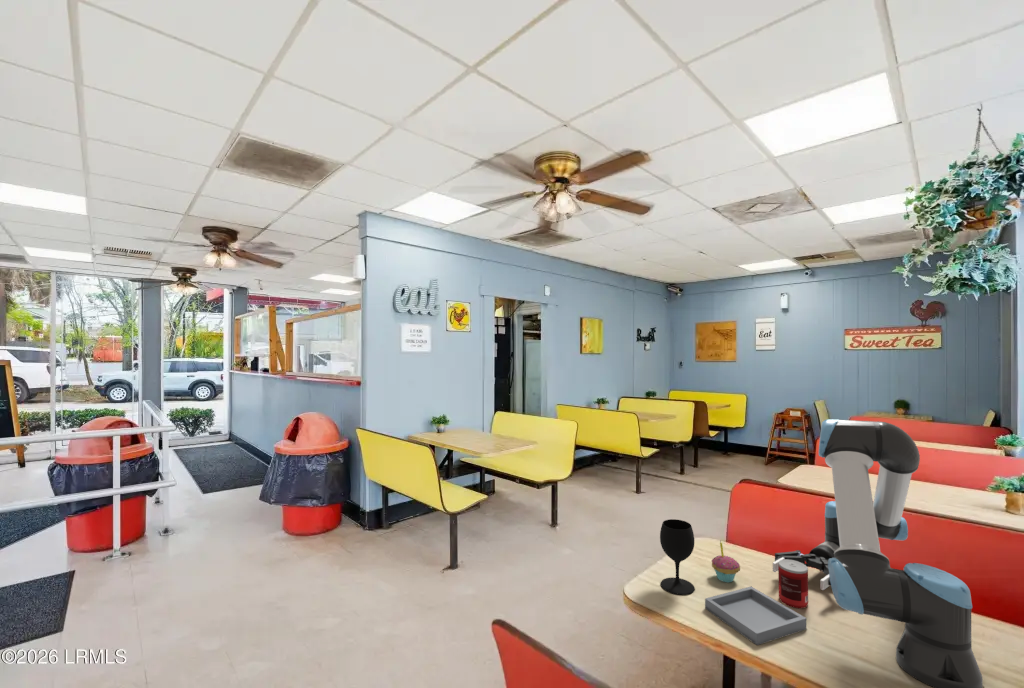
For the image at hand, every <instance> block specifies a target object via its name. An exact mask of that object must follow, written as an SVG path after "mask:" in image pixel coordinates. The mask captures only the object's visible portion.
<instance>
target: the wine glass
mask: <svg viewBox="0 0 1024 688" xmlns="http://www.w3.org/2000/svg"><path fill="white" fill-rule="evenodd" d="M659 532H660V533H659V542H660V546H661V548H662V550H663V552H664V553H665V555H666V556H667V557H668V558H670V560H672V561H673V562H674V567H675V577H666V578H664V579H662V580H661V581H660V587H661V588H662V589H663V591H665V592H667V593H669V594H673V595H675V596H676V595H677V596H688V595H692V594H693V593H694V592H695V591H696V590H695V589H696V588H695V585H694V584H693V583H692V582H690V581H689V580H686V579H684V578H680V563H681V562H683V561H685V560H686V559H688V558H689V557H690V556H691V555H692V553H693V551H694V547H695V535H694V530H693V527H692V524H691V523H689V522H688V521H685V520H681V519H673V518H672V519H665V520H663V521H662V524H661V527H660V531H659Z"/></svg>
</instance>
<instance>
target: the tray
mask: <svg viewBox="0 0 1024 688" xmlns="http://www.w3.org/2000/svg"><path fill="white" fill-rule="evenodd" d="M704 608H705V610H706V611H708V612H709V613H711V615H713V616H715V618H717V619H720V621H722V622H723V623H724V624H726V625H728V626H729V627H730V628H732V629H733V630H735V631H736V632H737V633H739V634H741V636H743V637H744V638H746V639H747V640H749V641H750V642H752V643H753V644H755V645H756V646H758V645H763V644H765V643H768V642H772V641H774V640H777V639H781V638H784V637H786V636H790V635H793V634H796V633H800V632H803V631H806V630H807V617H806V616H804V615H802V614H800V613H798V612H796V611H795V610H793V609H791V607H789V606H787V605H785V604H784V603H781V602H779V601H777V600H776V599H774V598H772V597H770V596H769V595H767V594H765V593H764V592H762V591H760V590H758V589H757V588H755V587H753V586H747V587H744V588H740V589H735V590H733V591H732V590H731V591H727V592H725V593H724V592H723V593H721V594H717V595H713V596H709V597H705V598H704Z"/></svg>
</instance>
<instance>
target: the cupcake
mask: <svg viewBox="0 0 1024 688" xmlns="http://www.w3.org/2000/svg"><path fill="white" fill-rule="evenodd" d="M719 541H720V542H719V545H720V555H717V556H715V557H713V558H712V560H711V567H712V569H713V570H714V571H715V574H716V577H717V579H718V580H719V581H721V582H724V583H732V582H733V581H734V580H735V577H736V574H737V573H739V572H740V570H741V565H740V563H739V562H738V561H737V560H735V558H734V557H731V556H728V555H724V554H725V553H724V547H723V542H722V541H721V540H719Z"/></svg>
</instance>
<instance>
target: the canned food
mask: <svg viewBox="0 0 1024 688" xmlns="http://www.w3.org/2000/svg"><path fill="white" fill-rule="evenodd" d="M808 568H809V567H807V566H806V565H804V564H803V563H801V562H798V561H795V560H789V559H784V560H780V561H779V564H778V571H777V572H778V573H777V574H778V575H777V577H778V579H777V580H778V598H779V601H780V603H781V602H782V604H783V605H784V606H786V607H789V608H794V609H805V608H807V606H808V605H809V569H808Z"/></svg>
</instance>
